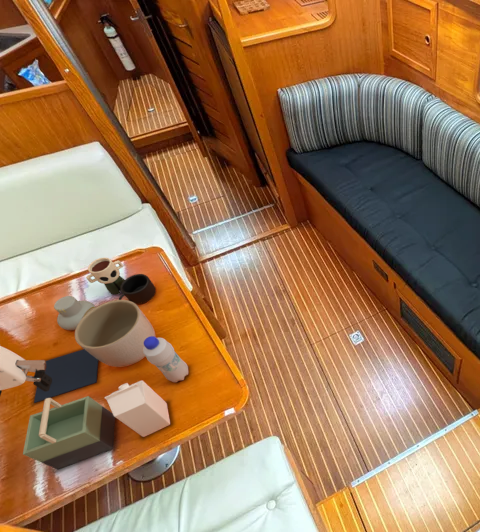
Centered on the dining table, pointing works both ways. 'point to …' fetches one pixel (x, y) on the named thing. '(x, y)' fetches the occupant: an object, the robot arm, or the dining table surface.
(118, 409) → the milk carton
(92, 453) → the box
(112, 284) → the character mug
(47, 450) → the box
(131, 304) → the planter
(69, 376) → the mat
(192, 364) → the dining table surface
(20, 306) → the dining table surface
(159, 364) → the bottle
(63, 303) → the air freshener
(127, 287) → the mug
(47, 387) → the robot arm
